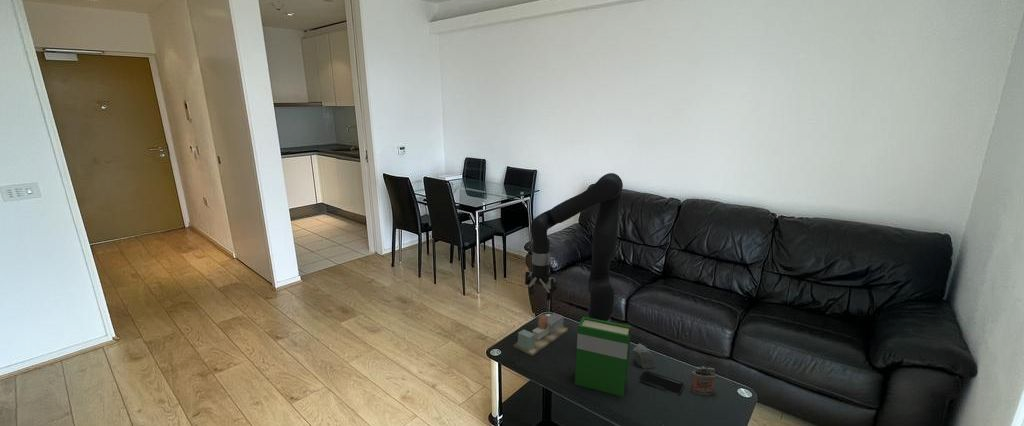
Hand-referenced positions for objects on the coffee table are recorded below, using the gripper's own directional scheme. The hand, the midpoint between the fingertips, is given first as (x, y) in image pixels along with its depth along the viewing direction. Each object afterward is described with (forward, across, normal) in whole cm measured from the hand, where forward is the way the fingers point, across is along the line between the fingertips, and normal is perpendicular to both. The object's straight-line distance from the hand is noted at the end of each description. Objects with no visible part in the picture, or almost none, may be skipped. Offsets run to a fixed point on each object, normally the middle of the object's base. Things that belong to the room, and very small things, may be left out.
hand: (540, 297), depth 181 cm
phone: (+22, +52, +2) cm, 57 cm away
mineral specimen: (+21, +43, +10) cm, 49 cm away
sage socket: (+20, -1, -9) cm, 22 cm away
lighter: (+21, +66, +7) cm, 69 cm away
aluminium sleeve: (+20, +1, +10) cm, 22 cm away
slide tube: (+19, 0, +6) cm, 19 cm away
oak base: (+21, 0, +2) cm, 21 cm away
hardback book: (+21, +34, -12) cm, 42 cm away
